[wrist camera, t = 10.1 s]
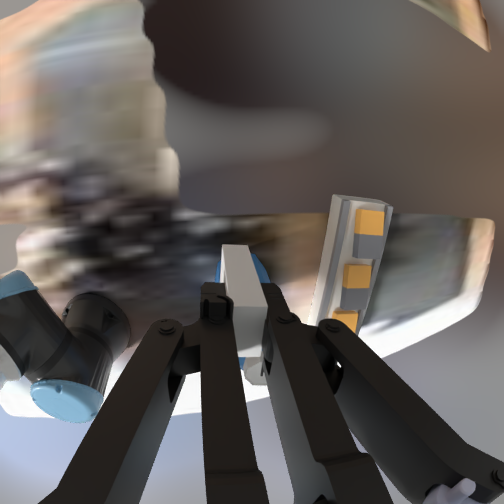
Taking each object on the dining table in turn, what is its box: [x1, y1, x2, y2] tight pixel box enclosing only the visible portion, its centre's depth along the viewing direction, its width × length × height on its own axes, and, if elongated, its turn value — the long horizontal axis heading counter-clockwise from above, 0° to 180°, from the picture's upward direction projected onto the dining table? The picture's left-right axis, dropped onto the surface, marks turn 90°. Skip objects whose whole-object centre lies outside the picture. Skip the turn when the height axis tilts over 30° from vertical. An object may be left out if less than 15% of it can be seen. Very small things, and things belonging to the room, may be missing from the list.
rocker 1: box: [352, 209, 384, 259], centre depth 48 cm, size 5×8×2 cm, turn 175°
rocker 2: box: [340, 264, 372, 310], centre depth 52 cm, size 5×8×2 cm, turn 175°
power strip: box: [307, 194, 393, 336], centre depth 56 cm, size 10×30×5 cm, turn 174°
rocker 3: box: [332, 310, 358, 333], centre depth 56 cm, size 5×8×2 cm, turn 175°
